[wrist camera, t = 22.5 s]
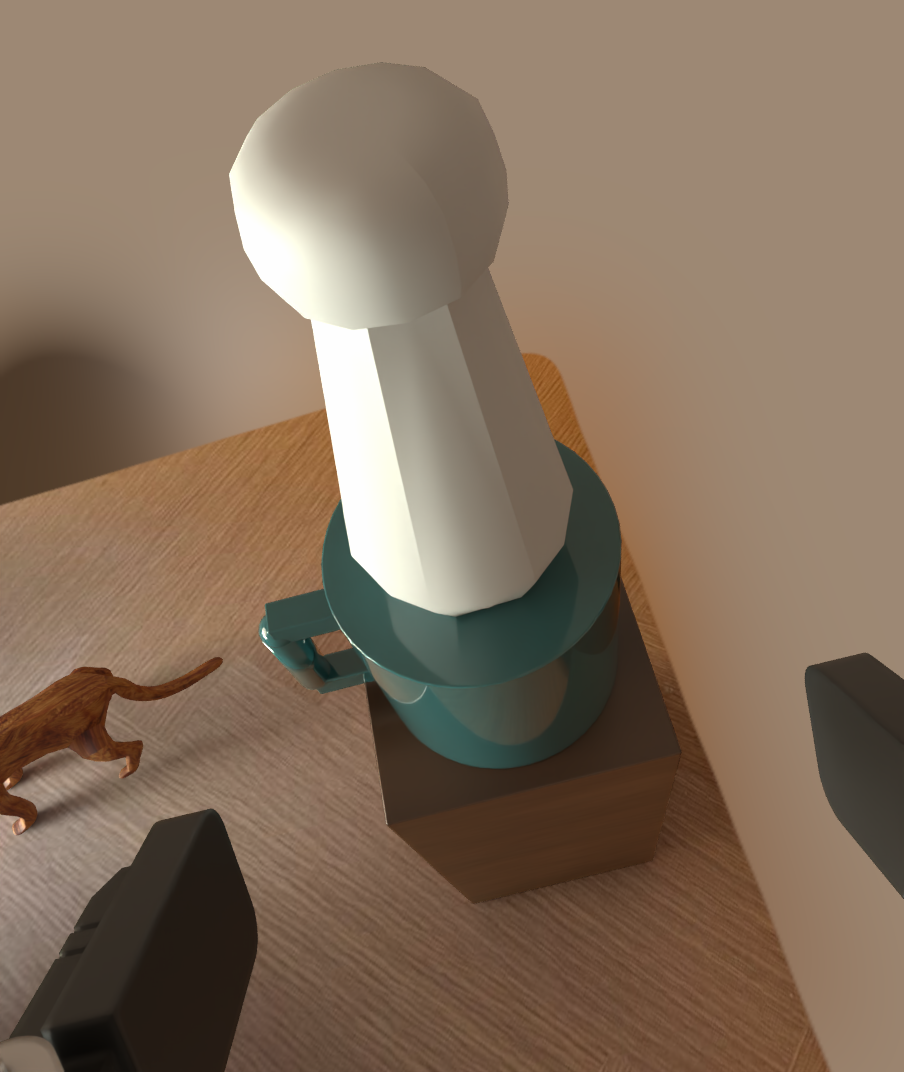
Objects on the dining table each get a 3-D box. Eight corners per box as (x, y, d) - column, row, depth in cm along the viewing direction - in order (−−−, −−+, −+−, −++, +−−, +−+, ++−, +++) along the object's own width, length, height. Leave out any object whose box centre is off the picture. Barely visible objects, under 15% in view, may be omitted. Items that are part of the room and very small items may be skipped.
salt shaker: (363, 653, 23) (124, 289, 11) (369, 473, 25) (184, 41, 14) (586, 635, 22) (563, 227, 11) (567, 452, 25) (533, -20, 14)
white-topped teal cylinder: (581, 524, 33) (573, 391, 26) (650, 735, 28) (664, 641, 21) (303, 596, 33) (223, 482, 26) (330, 814, 29) (242, 747, 22)
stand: (653, 860, 46) (682, 752, 28) (472, 904, 46) (386, 825, 28) (600, 688, 51) (595, 502, 33) (437, 728, 51) (345, 567, 33)
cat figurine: (209, 628, 57) (107, 525, 45) (251, 705, 54) (151, 615, 42) (-38, 785, 54) (-216, 718, 43) (-10, 876, 51) (-194, 830, 39)
